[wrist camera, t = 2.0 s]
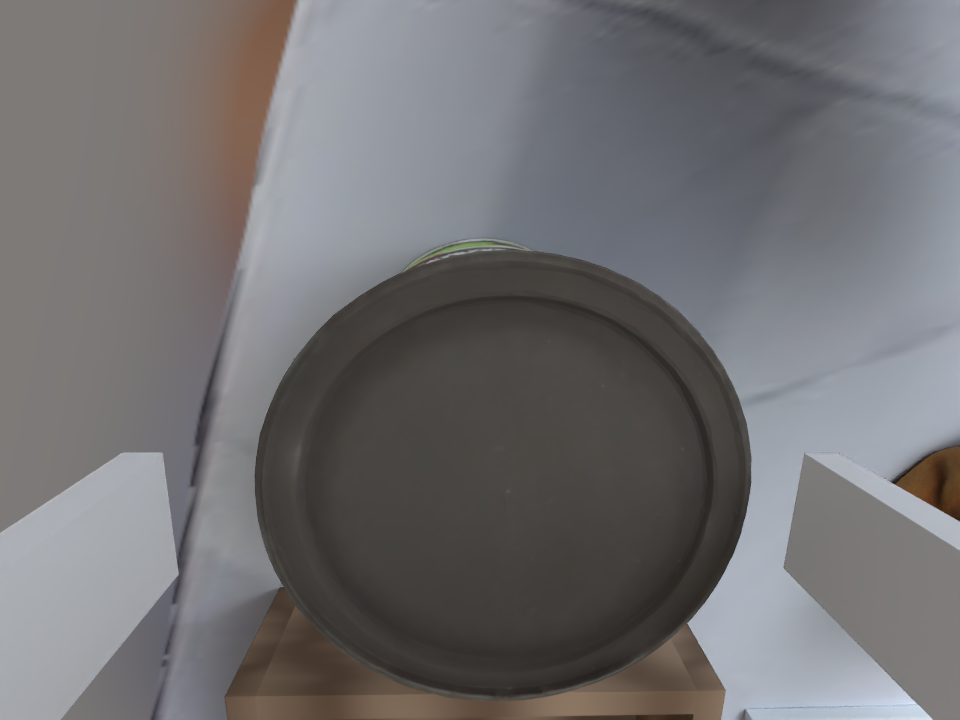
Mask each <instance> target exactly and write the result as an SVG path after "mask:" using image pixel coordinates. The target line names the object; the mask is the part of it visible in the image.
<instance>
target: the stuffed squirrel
mask: <svg viewBox="0 0 960 720" xmlns="http://www.w3.org/2000/svg"><path fill="white" fill-rule="evenodd" d="M895 485H896V486H898V487H900V488H902V489H903V490H905V491H907V492H909V493H910V494H912V495H914V496H916V497H917V498H919V499H921V500H923V501H924V502H926V503H928V504H930V505H931V506H933V507H935V508H937V509H938V510H940V511H942V512H944V513H945V514H947V515H949V516H951V517H952V518H954V519H956V520H958V521H960V446H956V447H952V448H946V449H944V450H941V451H938V452H936V453H934V454H932V455H930V456H929V457H927V458H926V459H924V460H923V461H922V462H921V463H919V464H918V465H917V466H915V467H914V468H913V469H912V470H910V471H909V472H908V473H907V474H906V475H905V476H903V477H902V478H901V479H900V480H899V481H898V482H897V483H896V484H895Z"/></svg>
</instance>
